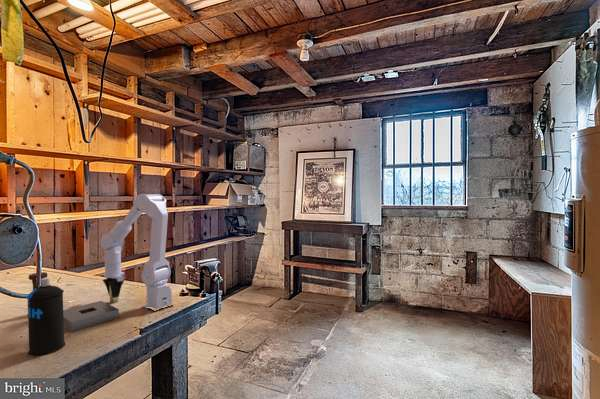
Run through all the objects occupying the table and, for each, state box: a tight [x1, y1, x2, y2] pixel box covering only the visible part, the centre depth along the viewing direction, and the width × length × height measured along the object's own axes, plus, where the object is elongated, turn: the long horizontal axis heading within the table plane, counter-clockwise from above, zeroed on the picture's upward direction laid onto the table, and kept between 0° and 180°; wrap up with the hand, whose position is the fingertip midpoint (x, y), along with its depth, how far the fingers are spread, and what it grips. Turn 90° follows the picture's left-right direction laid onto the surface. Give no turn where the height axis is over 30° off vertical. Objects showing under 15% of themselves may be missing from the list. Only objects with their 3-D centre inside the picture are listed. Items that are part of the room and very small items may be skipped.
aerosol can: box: [26, 277, 66, 357], centre depth 87 cm, size 8×8×20 cm
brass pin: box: [109, 280, 119, 304], centre depth 127 cm, size 3×3×9 cm
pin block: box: [63, 300, 120, 333], centre depth 109 cm, size 16×14×3 cm
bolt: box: [28, 271, 48, 291], centre depth 115 cm, size 6×5×15 cm
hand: (114, 296), depth 127 cm, fingers closed on brass pin, 3 cm apart
